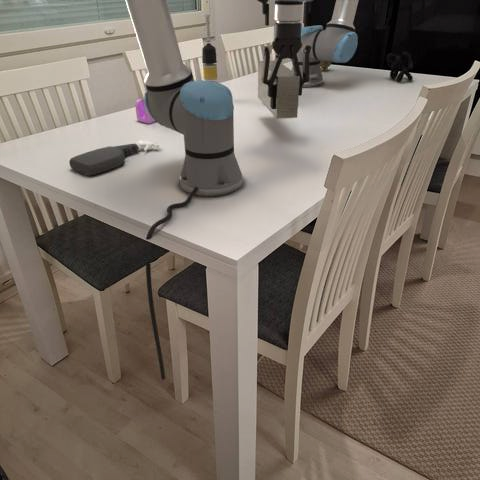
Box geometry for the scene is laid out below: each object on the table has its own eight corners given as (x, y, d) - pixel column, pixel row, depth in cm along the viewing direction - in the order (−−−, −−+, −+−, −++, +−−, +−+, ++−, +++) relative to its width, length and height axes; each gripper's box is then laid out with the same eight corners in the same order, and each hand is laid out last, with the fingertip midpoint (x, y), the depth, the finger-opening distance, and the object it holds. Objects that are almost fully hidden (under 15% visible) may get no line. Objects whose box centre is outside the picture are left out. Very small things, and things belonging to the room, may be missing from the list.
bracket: (148, 123, 152) (145, 102, 148) (137, 120, 155) (134, 100, 151) (175, 114, 161) (173, 94, 157) (164, 111, 164) (162, 92, 160)
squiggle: (400, 92, 202) (376, 71, 205) (417, 76, 202) (392, 56, 205) (405, 81, 191) (380, 59, 194) (423, 64, 191) (397, 42, 194)
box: (297, 117, 132) (299, 76, 126) (276, 118, 131) (278, 77, 125) (275, 96, 153) (277, 60, 147) (257, 97, 152) (258, 61, 146)
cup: (314, 71, 219) (315, 53, 215) (319, 68, 225) (320, 51, 220) (329, 72, 216) (330, 54, 212) (333, 69, 222) (335, 52, 217)
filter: (220, 99, 177) (217, 15, 161) (206, 100, 176) (202, 16, 160) (215, 96, 182) (212, 14, 166) (202, 97, 180) (197, 14, 164)
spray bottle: (67, 168, 120) (139, 144, 136) (91, 178, 114) (163, 151, 130) (65, 157, 118) (137, 134, 134) (89, 167, 112) (162, 142, 128)
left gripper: (317, 19, 126) (311, 102, 138) (250, 21, 123) (249, 105, 135) (326, 22, 119) (319, 109, 131) (256, 24, 117) (255, 112, 129)
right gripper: (322, -50, 147) (317, 21, 158) (248, -49, 144) (248, 24, 155) (330, -50, 141) (324, 24, 152) (252, -49, 137) (252, 27, 149)
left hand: (284, 107), depth 133 cm, fingers closed on box, 6 cm apart
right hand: (286, 24), depth 153 cm, fingers open, 13 cm apart
